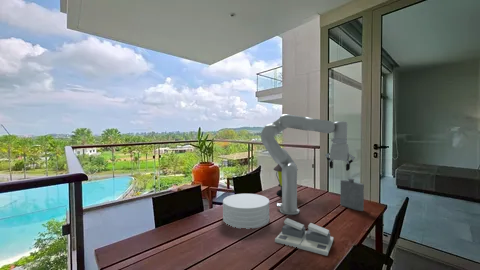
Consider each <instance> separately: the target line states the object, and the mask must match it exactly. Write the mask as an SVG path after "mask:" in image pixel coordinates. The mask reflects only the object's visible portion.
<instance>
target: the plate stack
mask: <svg viewBox="0 0 480 270" xmlns="http://www.w3.org/2000/svg"><path fill="white" fill-rule="evenodd" d="M222 221H223V223H224V222H225V223H226V224H225V223H224V224H225V225H227V224H228V225H227V226H229V225H230V226H229V227H231V226H232V227H231V228H235V227H236V229H241V228H246V229H247V230H250V228H252V229H256V228H257V229H258V228H261V227H265V226H266V225H268V223H269V222H270V198H268V197H266V196H264V195H261V194H256V193H236V194H230V195H228V196H225V197H224V198H223V200H222ZM246 229H245V230H246Z"/></svg>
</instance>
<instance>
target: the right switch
mask: <svg viewBox="0 0 480 270" xmlns="http://www.w3.org/2000/svg"><path fill="white" fill-rule="evenodd" d="M307 229H311V230H313V231H315V232H318V233H320V234H322V235H325V236H327V235H328V233H330V229H327V228H325V227H323V226H322V227H321V225H317V224H315V223H312V222H310V223H309V224H308V225H307Z"/></svg>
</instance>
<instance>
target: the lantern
mask: <svg viewBox="0 0 480 270" xmlns="http://www.w3.org/2000/svg"><path fill="white" fill-rule="evenodd" d="M298 170H299V169H298V168H297V171H298ZM273 171H274V172H276V174H275V175H276V178H277V180H278V184H277V186H278V187H280V189H278V190H277V191H276V193H275V194H276V196H277V195H278V196H277V197H280V196H282V168H281V166H280V165H279V164H277V165H276V166H274V168H273Z"/></svg>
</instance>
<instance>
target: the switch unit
mask: <svg viewBox="0 0 480 270" xmlns="http://www.w3.org/2000/svg"><path fill="white" fill-rule="evenodd" d="M307 229H308V228H307ZM334 238H335V237H334V236H331V232H329V233H328V235H327V236H325V235H322V234H320V233H318V232H315V231H313V230H311V229H308V230H306V227H305V226H304V227H303V229H302V230H299V229H296V228H294V227H292V226H289V225H287V224H285V223H284V225H283V226H282V227H281V232H279V234H278V235H277V236H276V237H275V238H274V243H277V244H282V245H284V244H285V246H288V245H289V246H288V247H292V246H293V248H296V247H297V248H296V249H300V250H304V251H308V252H311V253H315V254H319V255H323V256H326V257H327V256H329V252H330V250H331V247H332V245H333V243H334Z"/></svg>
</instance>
